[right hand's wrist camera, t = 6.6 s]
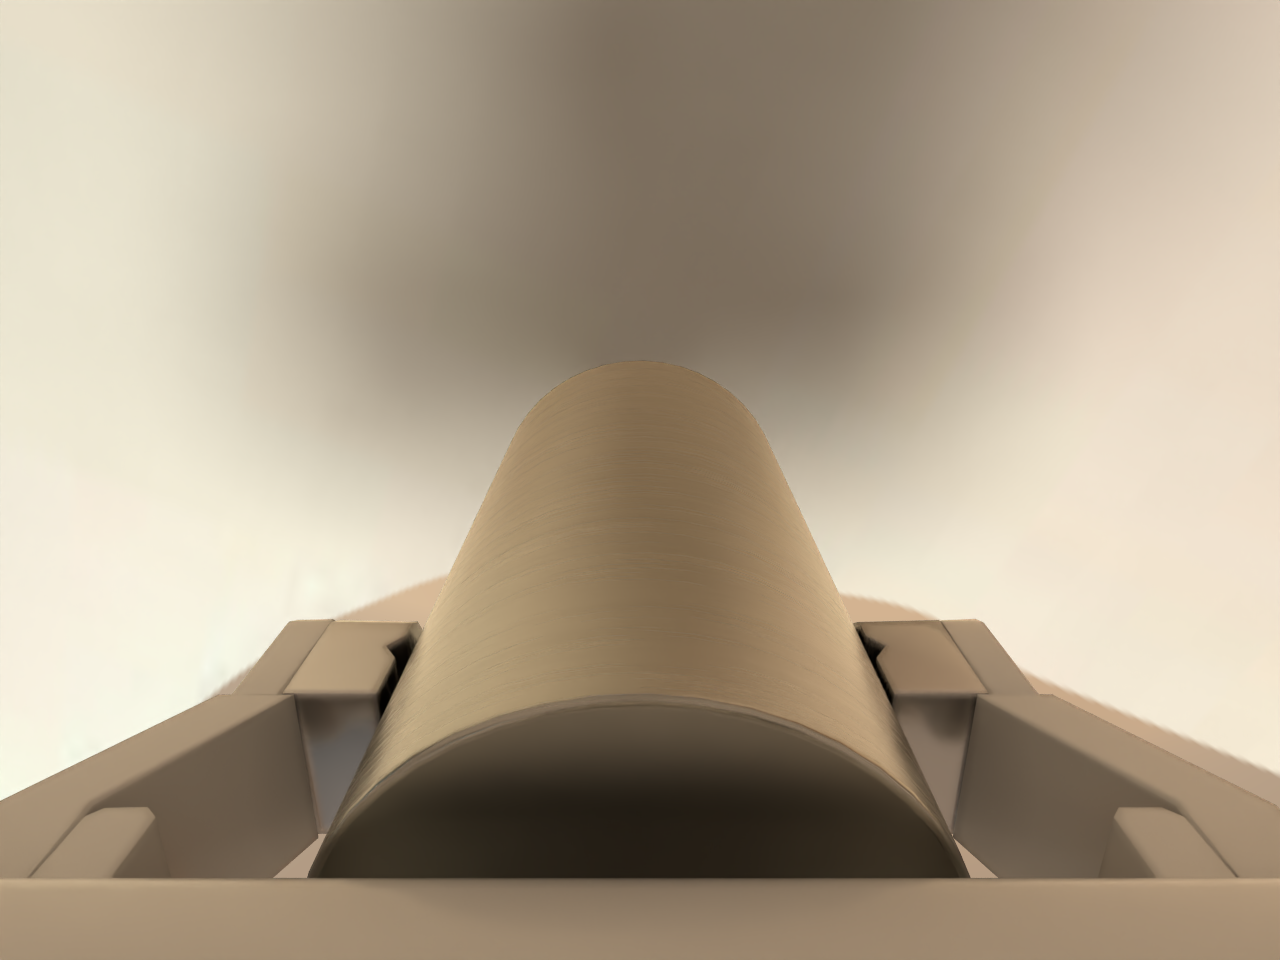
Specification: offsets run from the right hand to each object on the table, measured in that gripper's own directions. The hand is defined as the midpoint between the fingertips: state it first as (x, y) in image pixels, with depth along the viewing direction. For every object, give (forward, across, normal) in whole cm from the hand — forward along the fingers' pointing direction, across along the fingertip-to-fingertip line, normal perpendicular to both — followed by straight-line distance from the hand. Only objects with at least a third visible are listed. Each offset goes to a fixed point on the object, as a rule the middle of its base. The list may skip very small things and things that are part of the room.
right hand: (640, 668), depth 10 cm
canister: (+6, 0, 0) cm, 6 cm away
